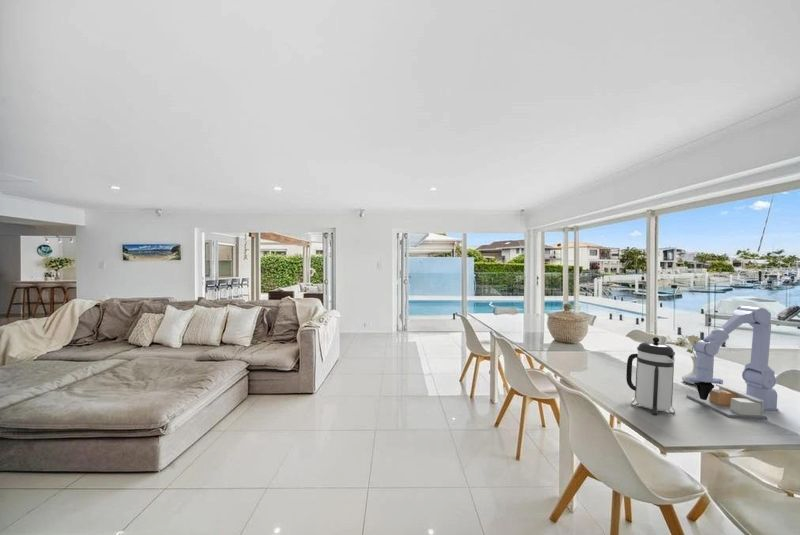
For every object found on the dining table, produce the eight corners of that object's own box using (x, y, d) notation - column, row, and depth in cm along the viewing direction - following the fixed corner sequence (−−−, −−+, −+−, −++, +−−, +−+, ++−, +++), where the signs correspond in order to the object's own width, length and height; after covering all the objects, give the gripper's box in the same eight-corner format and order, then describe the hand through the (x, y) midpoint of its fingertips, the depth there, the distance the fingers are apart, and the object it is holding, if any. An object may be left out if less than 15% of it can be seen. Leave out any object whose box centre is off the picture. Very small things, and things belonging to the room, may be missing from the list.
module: (727, 401, 159) (728, 389, 159) (736, 405, 155) (737, 393, 155) (709, 400, 160) (709, 388, 160) (717, 404, 155) (718, 392, 155)
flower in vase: (715, 388, 180) (717, 339, 180) (690, 386, 182) (692, 337, 182) (698, 380, 193) (700, 334, 193) (674, 378, 195) (677, 332, 195)
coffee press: (673, 407, 151) (677, 337, 151) (676, 420, 138) (680, 342, 138) (625, 397, 161) (628, 331, 161) (623, 408, 148) (627, 336, 148)
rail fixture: (720, 399, 165) (720, 383, 165) (767, 419, 143) (768, 402, 143) (686, 397, 166) (687, 382, 166) (728, 417, 144) (729, 399, 144)
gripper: (714, 366, 161) (712, 396, 161) (681, 365, 162) (679, 394, 162) (727, 371, 154) (726, 402, 154) (693, 369, 155) (691, 400, 155)
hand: (703, 399), depth 158 cm, fingers closed
